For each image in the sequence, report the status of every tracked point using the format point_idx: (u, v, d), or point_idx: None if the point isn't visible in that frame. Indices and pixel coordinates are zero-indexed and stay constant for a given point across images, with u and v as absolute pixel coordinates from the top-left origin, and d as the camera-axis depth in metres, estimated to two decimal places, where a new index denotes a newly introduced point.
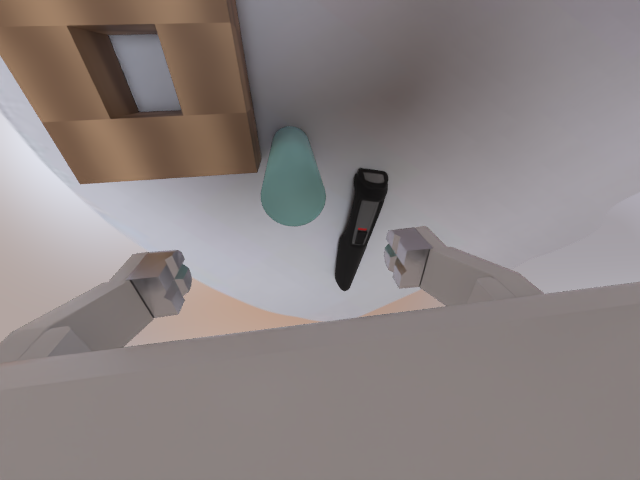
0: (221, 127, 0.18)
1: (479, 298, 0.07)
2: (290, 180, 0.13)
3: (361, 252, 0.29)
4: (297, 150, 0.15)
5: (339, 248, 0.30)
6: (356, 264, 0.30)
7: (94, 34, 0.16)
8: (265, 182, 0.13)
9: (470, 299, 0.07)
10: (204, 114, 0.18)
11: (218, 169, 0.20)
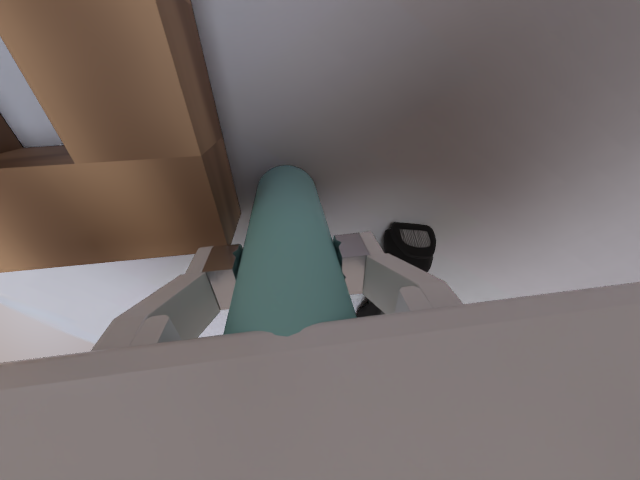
0: (154, 183, 0.10)
1: (401, 308, 0.06)
2: None
3: None
4: (302, 255, 0.07)
5: None
6: None
7: None
8: None
9: (396, 308, 0.07)
10: (117, 160, 0.09)
11: (159, 248, 0.11)
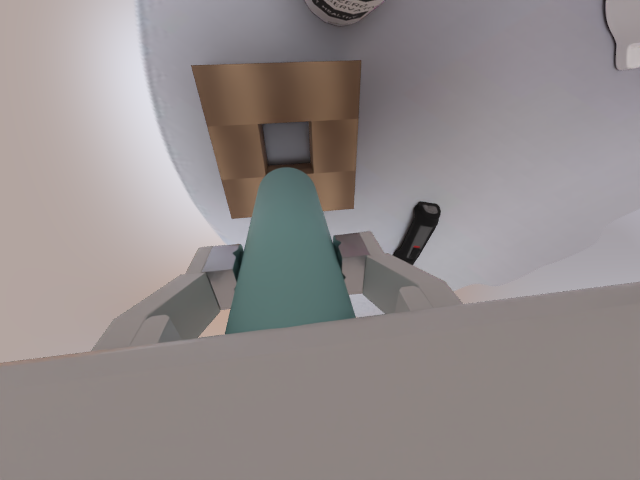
0: (336, 180, 0.26)
1: (401, 308, 0.06)
2: None
3: (412, 264, 0.37)
4: (302, 258, 0.07)
5: None
6: None
7: None
8: None
9: (396, 308, 0.07)
10: (327, 172, 0.26)
11: (327, 207, 0.28)
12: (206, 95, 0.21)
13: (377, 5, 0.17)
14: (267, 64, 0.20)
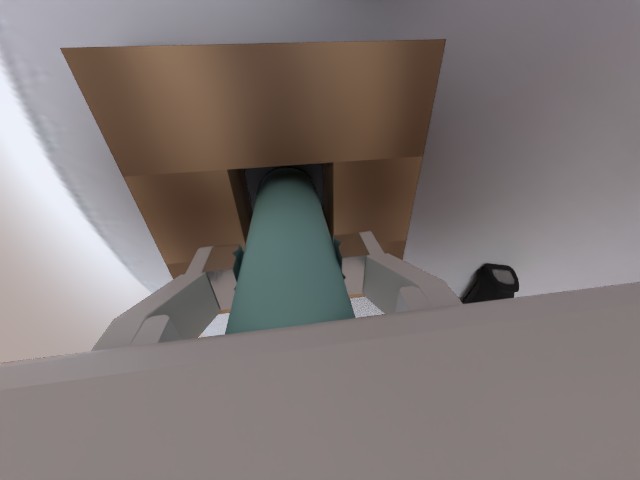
0: None
1: (401, 308, 0.06)
2: None
3: None
4: (302, 258, 0.07)
5: None
6: None
7: None
8: None
9: (396, 308, 0.07)
10: None
11: None
12: (110, 115, 0.09)
13: None
14: (241, 47, 0.09)
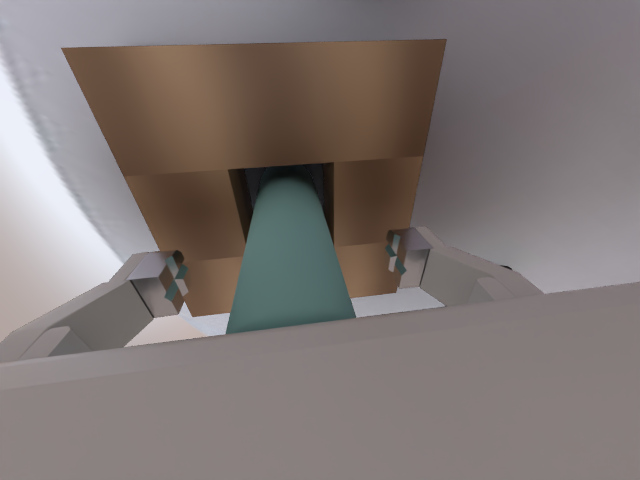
0: (372, 255, 0.15)
1: (479, 298, 0.07)
2: None
3: None
4: (300, 230, 0.08)
5: None
6: None
7: None
8: None
9: (470, 299, 0.07)
10: (358, 244, 0.14)
11: (354, 292, 0.17)
12: (110, 115, 0.09)
13: None
14: (242, 47, 0.09)
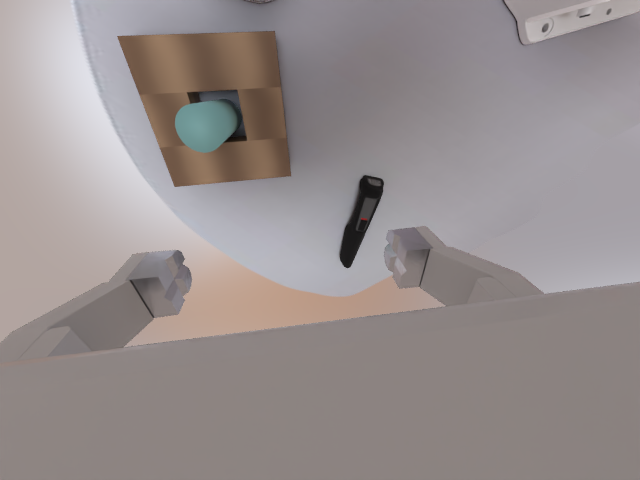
0: (270, 147, 0.28)
1: (479, 298, 0.07)
2: (194, 114, 0.19)
3: (362, 237, 0.39)
4: (209, 102, 0.21)
5: (345, 234, 0.40)
6: (357, 246, 0.40)
7: (194, 93, 0.27)
8: (176, 116, 0.19)
9: (470, 299, 0.07)
10: (260, 139, 0.28)
11: (265, 174, 0.30)
12: (135, 64, 0.23)
13: None
14: (188, 35, 0.22)
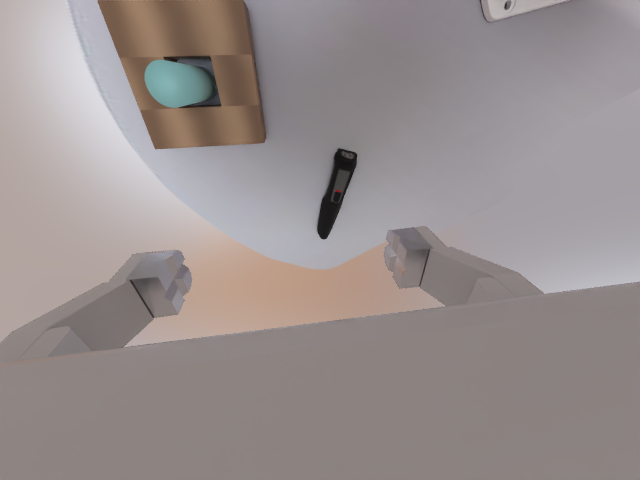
0: (243, 114, 0.30)
1: (479, 298, 0.07)
2: (161, 70, 0.21)
3: (336, 208, 0.41)
4: (179, 63, 0.23)
5: (321, 206, 0.42)
6: (332, 218, 0.42)
7: (172, 59, 0.29)
8: (146, 71, 0.21)
9: (470, 299, 0.07)
10: (233, 105, 0.30)
11: (240, 140, 0.32)
12: (114, 28, 0.25)
13: None
14: (162, 1, 0.24)
